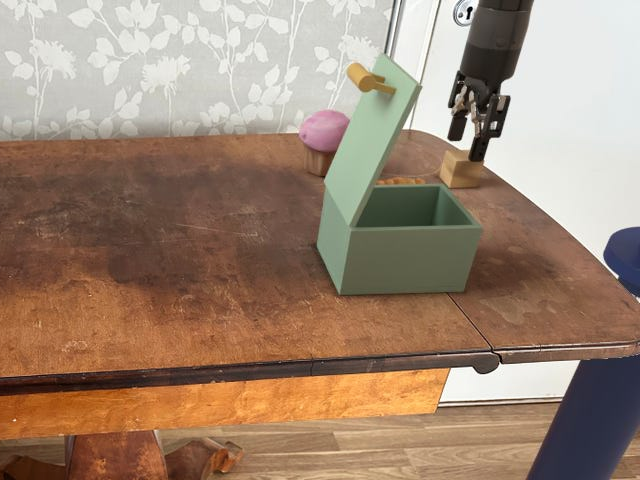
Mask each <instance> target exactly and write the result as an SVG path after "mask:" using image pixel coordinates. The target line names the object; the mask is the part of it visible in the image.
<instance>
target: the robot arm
mask: <svg viewBox="0 0 640 480" xmlns="http://www.w3.org/2000/svg"><path fill="white" fill-rule="evenodd" d="M534 3H535V0H478V3H477V7H476V9H475V12H474V14H473V16H472V19H471V22H470V26H469V31H468V34H467V38H466V40H465V41H466V42H465V45H464V49H463V53H462V57H461V62H460V65H459V69H458V70H456V74H455V78H454V81H453V85H452V89H451V91H450V94H449V99H448V102H447V108H448V109H451V111H450V116H451V120H450V125H449V129H448V133H447V137H446V139H447V140H448V141H449V142H461V141H462V140H463V138H464V133H465V129H466V126H467V123H468V117H469V115H470V120H471V123H472V124H473V125H474V136H473V138H472V141H471V146H470V149H469V150H470V152H469V156H468V159H469V160H470V161H471V162H482V161H483V160H485V158H486V154H487V150H488V147H489V144H490V140H491V139H500V138H501V136H502V133H503V129H504V125H505V123H506V119H507V115H508V111H509V107H510V103H511V99H512V98H511V95H510V94H509V95H507V94H506V95H505V94H504V95H503V94H501V91H502V90H501V89H502V84H503V83H504V82H505V81H507V80H510V79H511V78H513V76H514V75H515V72H516V69H517V66H518V62H519V59H520V56H521V53H522V49H523V46H524V42H525V39H526V36H527V32H528V29H529V24H530V21H531V20H530V19H531V14H532V9H533V6H534ZM495 123H496V124H495Z"/></svg>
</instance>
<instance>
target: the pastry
mask: <svg viewBox="0 0 640 480" xmlns="http://www.w3.org/2000/svg"><path fill="white" fill-rule="evenodd" d="M400 184H427V183H426V181H425V179H423V178H421V177H418V178H416V179H415V178H410V177H402V176H401V177H400V176H396V177H393V178H388V179H386V180H377V182H376V184H375V185H400Z"/></svg>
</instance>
